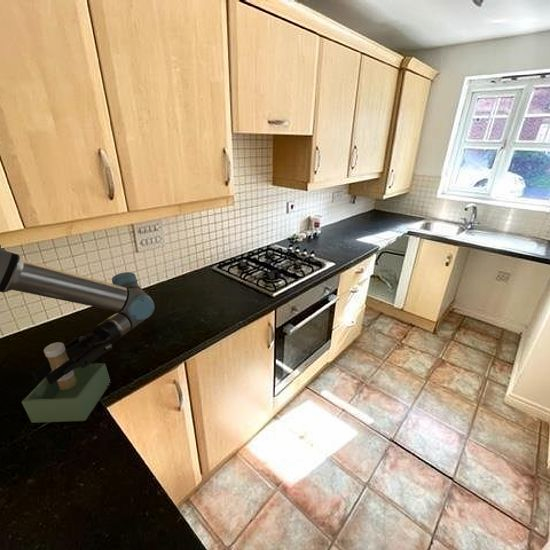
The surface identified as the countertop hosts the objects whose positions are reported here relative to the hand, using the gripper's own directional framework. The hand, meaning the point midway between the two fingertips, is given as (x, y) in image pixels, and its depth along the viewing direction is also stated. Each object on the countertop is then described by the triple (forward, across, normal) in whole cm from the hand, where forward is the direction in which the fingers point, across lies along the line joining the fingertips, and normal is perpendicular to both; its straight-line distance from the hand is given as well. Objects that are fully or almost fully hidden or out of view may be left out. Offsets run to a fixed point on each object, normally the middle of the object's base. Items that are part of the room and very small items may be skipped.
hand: (41, 378), depth 79 cm
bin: (-5, 0, -13) cm, 14 cm away
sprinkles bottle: (-5, 0, -7) cm, 9 cm away
